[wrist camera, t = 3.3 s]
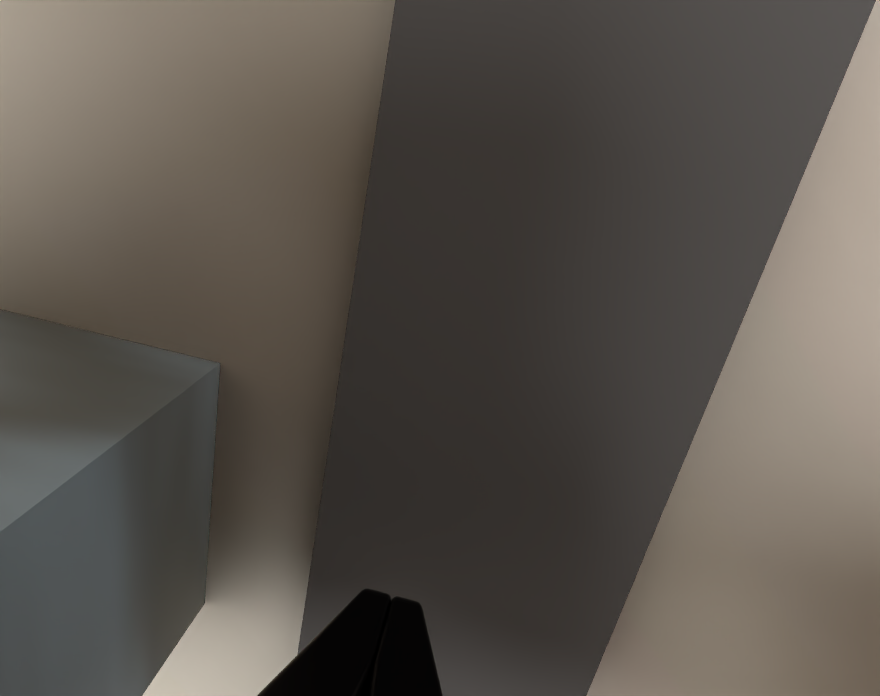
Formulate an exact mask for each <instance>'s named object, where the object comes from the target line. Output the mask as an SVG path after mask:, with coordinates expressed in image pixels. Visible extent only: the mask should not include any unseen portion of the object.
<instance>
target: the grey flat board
mask: <svg viewBox="0 0 880 696" xmlns="http://www.w3.org/2000/svg"><path fill="white" fill-rule="evenodd" d="M875 1H876V0H396V1H395V8H394V14H393V21H392V28H391V34H390V41H389V48H388V54H387V61H386V68H385V74H384V81H383V88H382V94H381V101H380V108H379V114H378V121H377V128H376V135H375V141H374V148H373V155H372V161H371V168H370V175H369V181H368V188H367V195H366V201H365V208H364V215H363V221H362V228H361V235H360V241H359V248H358V255H357V261H356V268H355V275H354V281H353V288H352V295H351V301H350V308H349V315H348V321H347V328H346V335H345V341H344V348H343V355H342V361H341V368H340V375H339V381H338V388H337V395H336V401H335V408H334V415H333V421H332V428H331V435H330V442H329V448H328V455H327V462H326V468H325V475H324V482H323V488H322V495H321V502H320V508H319V515H318V522H317V528H316V535H315V542H314V548H313V555H312V562H311V568H310V575H309V582H308V588H307V595H306V602H305V608H304V615H303V622H302V628H301V635H300V642H299V648H298V654H299V653H300V652H301V651H302V650H303V649H304V648H305V647H306V646H307V645H308V644H309V643H310V642H311V641H312V640H313V639H314V638H315V637H316V636H317V635H318V634H319V633H320V632H321V631H322V630H323V629H324V628H325V627H326V626H327V625H328V624H329V623H330V622H331V621H332V620H333V619H334V618H335V617H336V616H337V615H338V614H339V613H340V612H341V611H342V610H343V609H344V608H345V607H346V606H347V605H348V604H349V603H350V602H351V601H352V600H353V599H354V598H355V597H356V596H357V595H358V594H359V593H360V592H361V591H362V590H363V589H366V588H368V589H372V590H376V591H380V592H384V593H387V594H389V595H390V596H391V601H392V599H393V598H394V597H396V596H399V597H402V598H406V599H410V600H414V601H417V602H419V603H420V604H421V606H422V609H423V613H424V617H425V621H426V625H427V630H428V634H429V638H430V643H431V647H432V651H433V655H434V660H435V664H436V668H437V673H438V677H439V681H440V685H441V690H442V694H443V696H586V695H587V692H588V690H589V688H590V685H591V683H592V680H593V678H594V676H595V673H596V671H597V668H598V666H599V664H600V661H601V659H602V656H603V654H604V652H605V649H606V647H607V644H608V642H609V640H610V637H611V635H612V632H613V630H614V628H615V625H616V623H617V620H618V618H619V616H620V613H621V611H622V608H623V606H624V604H625V601H626V599H627V596H628V594H629V592H630V589H631V587H632V584H633V582H634V580H635V577H636V575H637V572H638V570H639V568H640V565H641V563H642V560H643V558H644V556H645V553H646V551H647V548H648V546H649V544H650V541H651V539H652V536H653V534H654V532H655V529H656V527H657V524H658V522H659V520H660V517H661V515H662V512H663V510H664V507H665V505H666V503H667V500H668V498H669V495H670V493H671V491H672V488H673V486H674V483H675V481H676V479H677V476H678V474H679V471H680V469H681V467H682V464H683V462H684V459H685V457H686V455H687V452H688V450H689V447H690V445H691V443H692V440H693V438H694V435H695V433H696V431H697V428H698V426H699V423H700V421H701V419H702V416H703V414H704V411H705V409H706V407H707V404H708V402H709V399H710V397H711V395H712V392H713V390H714V387H715V385H716V383H717V380H718V378H719V375H720V373H721V371H722V368H723V366H724V363H725V361H726V359H727V356H728V354H729V351H730V349H731V347H732V344H733V342H734V339H735V337H736V335H737V332H738V330H739V327H740V325H741V323H742V320H743V318H744V315H745V313H746V311H747V308H748V306H749V303H750V301H751V299H752V296H753V294H754V291H755V289H756V287H757V284H758V282H759V279H760V277H761V275H762V272H763V270H764V267H765V265H766V263H767V260H768V258H769V255H770V253H771V251H772V248H773V246H774V243H775V241H776V239H777V236H778V234H779V231H780V229H781V227H782V224H783V222H784V219H785V217H786V215H787V212H788V210H789V207H790V205H791V203H792V200H793V198H794V195H795V193H796V191H797V188H798V186H799V183H800V181H801V179H802V176H803V174H804V171H805V169H806V167H807V164H808V162H809V159H810V157H811V155H812V152H813V150H814V147H815V145H816V143H817V140H818V138H819V135H820V133H821V131H822V128H823V126H824V123H825V121H826V119H827V116H828V114H829V111H830V109H831V107H832V104H833V102H834V99H835V97H836V95H837V92H838V90H839V87H840V85H841V83H842V80H843V78H844V75H845V73H846V71H847V68H848V66H849V63H850V61H851V59H852V56H853V54H854V51H855V49H856V47H857V44H858V42H859V39H860V37H861V35H862V32H863V30H864V27H865V25H866V23H867V20H868V18H869V15H870V13H871V11H872V8H873V6H874V3H875Z"/></svg>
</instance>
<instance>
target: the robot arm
mask: <svg viewBox="0 0 880 696" xmlns="http://www.w3.org/2000/svg"><path fill="white" fill-rule="evenodd" d="M257 696H443V694H442V690H441V685H440V681H439V677H438V673H437V668H436V664H435V660H434V655H433V651H432V647H431V643H430V638H429V634H428V630H427V625H426V621H425V617H424V613H423V609H422V606H421V604H420V603H419V602H417V601H414V600H410V599H406V598H402V597H399V596H396V597H394V598H393V599H392V601H391V596H390V595H389V594H387V593H384V592H380V591H376V590H372V589H368V588H366V589H363V590H362V591H361V592H360V593H359V594H358V595H357V596H356V597H355V598H354V599H353V600H352V601H351V602H350V603H349V604H348V605H347V606H346V607H345V608H344V609H343V610H342V611H341V612H340V613H339V614H338V615H337V616H336V617H335V618H334V619H333V620H332V621H331V622H330V623H329V624H328V625H327V626H326V627H325V628H324V629H323V630H322V631H321V632H320V633H319V634H318V635H317V636H316V637H315V638H314V639H313V640H312V641H311V642H310V643H309V644H308V645H307V646H306V647H305V648H304V649H303V650H302V651H301V652H300V653H299V654H298V655H297V656H296V657H295V658H294V659H293V660H292V661H291V662H290V663H289V664H288V665H287V666H286V667H285V668H284V669H283V670H282V671H281V672H280V673H279V674H278V675H277V676H276V677H275V678H274V679H273V680H272V681H271V682H270V683H269V684H268V685H267V686H266V687H265V688H264V689H263V690H262V691H261V692H260V693H259V694H258V695H257Z"/></svg>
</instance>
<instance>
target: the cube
mask: <svg viewBox="0 0 880 696" xmlns="http://www.w3.org/2000/svg"><path fill="white" fill-rule="evenodd" d="M219 375H220V363H217V362H213V361H209V360H204V359H200V358H196V357H192V356H188V355H184V354H180V353H176V352H172V351H168V350H164V349H160V348H156V347H152V346H148V345H143V344H139V343H135V342H131V341H127V340H123V339H119V338H115V337H111V336H107V335H103V334H99V333H95V332H91V331H86V330H82V329H78V328H74V327H70V326H66V325H62V324H58V323H54V322H50V321H46V320H42V319H38V318H34V317H29V316H25V315H21V314H17V313H13V312H9V311H5V310H1V309H0V696H142V695H143V693H144V692H145V690H146V689H147V688H148V686H149V685H150V683H151V682H152V680H153V679H154V677H155V676H156V674H157V673H158V671H159V670H160V668H161V667H162V665H163V664H164V662H165V661H166V659H167V658H168V656H169V655H170V654H171V652H172V651H173V649H174V648H175V646H176V645H177V643H178V642H179V640H180V639H181V637H182V636H183V634H184V633H185V631H186V630H187V628H188V627H189V625H190V624H191V623H192V621H193V620H194V618H195V617H196V615H197V614H198V612H199V611H200V609H201V608H202V606H203V605H204V603H205V589H206V573H207V558H208V543H209V528H210V512H211V497H212V482H213V467H214V452H215V436H216V421H217V406H218V391H219Z"/></svg>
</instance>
